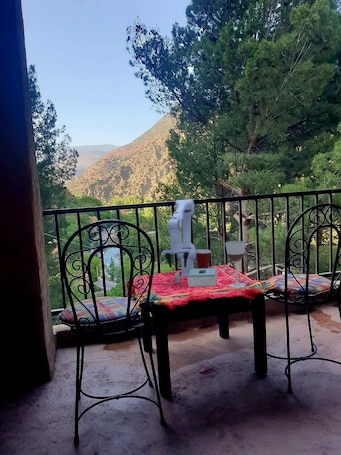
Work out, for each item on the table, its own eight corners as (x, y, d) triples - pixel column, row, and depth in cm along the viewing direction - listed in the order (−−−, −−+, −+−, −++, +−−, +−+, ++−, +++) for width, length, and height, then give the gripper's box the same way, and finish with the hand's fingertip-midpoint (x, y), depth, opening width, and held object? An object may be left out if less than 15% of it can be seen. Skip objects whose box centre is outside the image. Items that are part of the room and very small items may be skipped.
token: (176, 281, 199) (176, 272, 198) (180, 281, 199) (179, 272, 198) (175, 283, 194) (174, 274, 193) (178, 283, 194) (178, 274, 193)
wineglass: (230, 282, 188) (228, 240, 185) (249, 283, 183) (246, 240, 181) (225, 287, 180) (223, 243, 177) (244, 288, 176) (242, 243, 173)
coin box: (191, 279, 199) (190, 269, 199) (216, 278, 197) (216, 268, 196) (188, 286, 186) (187, 275, 185) (215, 286, 183) (214, 274, 182)
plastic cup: (211, 271, 214) (210, 251, 213) (193, 272, 216) (192, 252, 215) (213, 267, 225) (212, 248, 223) (196, 267, 227) (194, 249, 225)
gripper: (161, 243, 186) (163, 269, 187) (189, 242, 183) (190, 268, 185) (163, 241, 192) (165, 266, 194) (190, 240, 190) (192, 265, 192)
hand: (178, 267), depth 190 cm, fingers open, 7 cm apart
